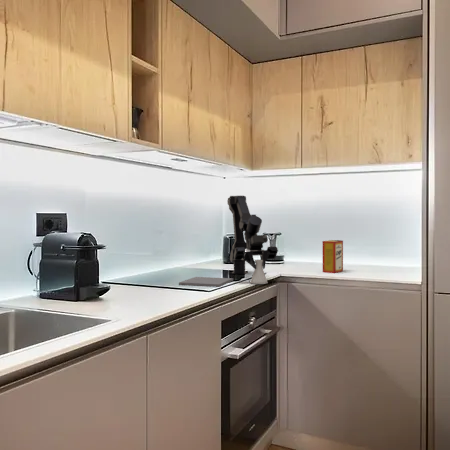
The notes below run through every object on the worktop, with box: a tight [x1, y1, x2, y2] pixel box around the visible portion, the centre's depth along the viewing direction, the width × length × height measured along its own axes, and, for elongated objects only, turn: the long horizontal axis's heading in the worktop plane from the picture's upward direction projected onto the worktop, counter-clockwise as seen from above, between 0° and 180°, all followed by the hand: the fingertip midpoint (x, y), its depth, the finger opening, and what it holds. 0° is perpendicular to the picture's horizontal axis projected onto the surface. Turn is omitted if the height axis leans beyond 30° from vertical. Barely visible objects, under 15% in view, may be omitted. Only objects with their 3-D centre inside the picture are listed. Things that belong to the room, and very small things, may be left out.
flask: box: [250, 259, 269, 285], centre depth 199 cm, size 7×7×10 cm
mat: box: [178, 276, 234, 288], centre depth 202 cm, size 18×18×1 cm
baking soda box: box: [322, 239, 344, 274], centre depth 236 cm, size 10×6×16 cm
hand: (259, 268), depth 198 cm, fingers open, 4 cm apart
